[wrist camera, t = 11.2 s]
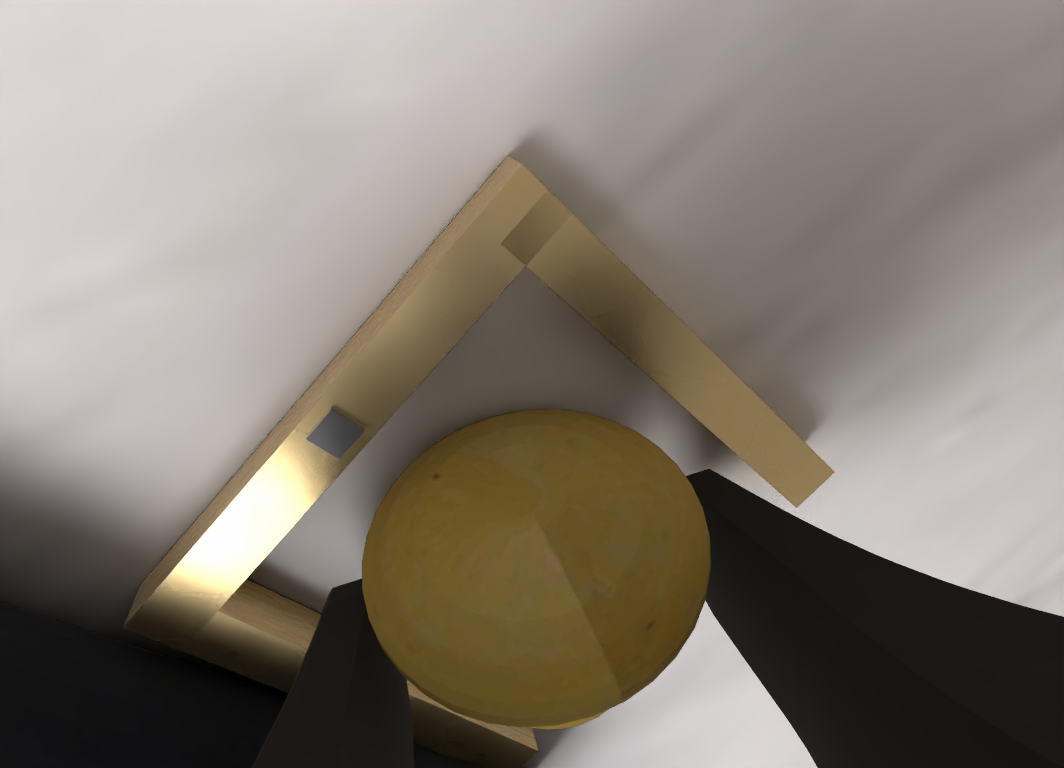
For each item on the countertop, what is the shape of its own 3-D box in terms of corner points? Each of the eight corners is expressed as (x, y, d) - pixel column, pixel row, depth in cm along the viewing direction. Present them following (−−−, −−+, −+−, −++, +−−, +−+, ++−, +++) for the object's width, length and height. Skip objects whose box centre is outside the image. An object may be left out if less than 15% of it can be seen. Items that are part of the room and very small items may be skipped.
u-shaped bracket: (804, 446, 14) (838, 474, 13) (498, 739, 15) (508, 784, 14) (507, 155, 10) (524, 164, 9) (140, 584, 12) (121, 632, 11)
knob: (339, 440, 11) (330, 675, 7) (625, 358, 12) (781, 527, 8) (414, 633, 14) (444, 905, 9) (652, 555, 14) (786, 774, 10)
